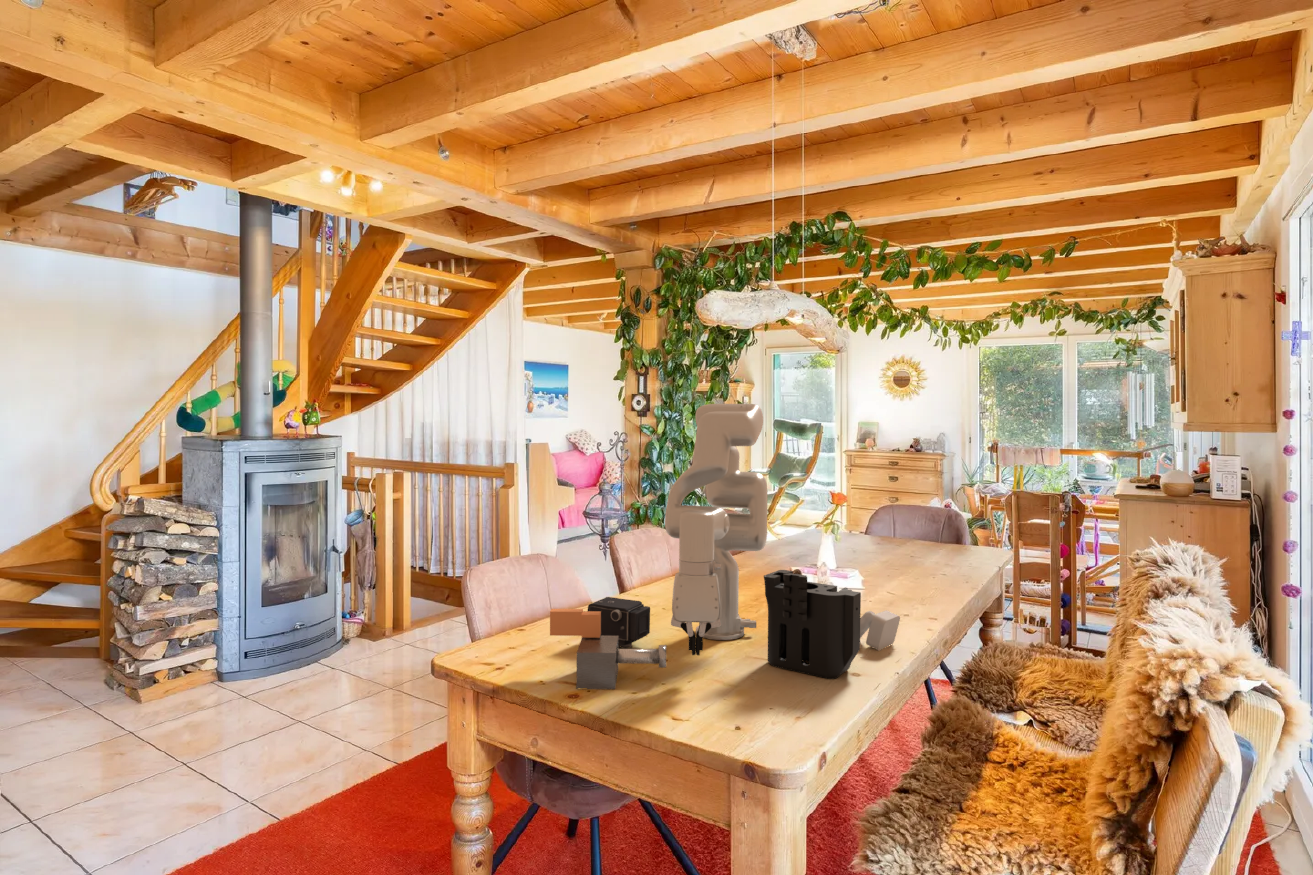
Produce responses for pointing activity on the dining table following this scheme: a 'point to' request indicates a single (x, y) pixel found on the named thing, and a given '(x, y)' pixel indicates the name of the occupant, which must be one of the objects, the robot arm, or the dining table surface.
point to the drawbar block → (597, 662)
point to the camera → (623, 619)
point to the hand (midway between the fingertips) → (695, 653)
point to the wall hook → (879, 628)
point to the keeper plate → (575, 623)
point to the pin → (642, 656)
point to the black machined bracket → (811, 625)
